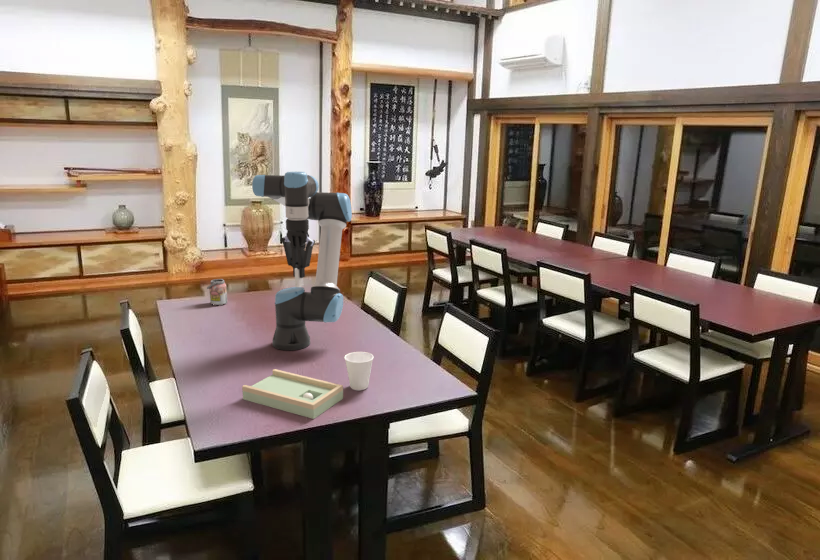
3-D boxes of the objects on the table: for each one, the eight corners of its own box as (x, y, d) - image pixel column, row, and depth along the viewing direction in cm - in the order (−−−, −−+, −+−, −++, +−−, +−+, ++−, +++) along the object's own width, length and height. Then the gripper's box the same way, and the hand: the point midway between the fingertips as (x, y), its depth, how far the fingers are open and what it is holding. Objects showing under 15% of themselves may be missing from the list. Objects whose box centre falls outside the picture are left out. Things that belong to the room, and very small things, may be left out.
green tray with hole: (243, 399, 187) (242, 386, 186) (275, 381, 201) (274, 369, 200) (313, 418, 175) (313, 405, 174) (343, 398, 189) (342, 385, 188)
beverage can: (205, 305, 287) (203, 282, 284) (213, 300, 295) (211, 278, 292) (222, 306, 286) (221, 283, 283) (230, 301, 294) (229, 279, 291)
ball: (304, 393, 183) (310, 402, 182) (311, 389, 186) (317, 398, 185) (298, 398, 185) (304, 407, 184) (305, 394, 187) (311, 402, 187)
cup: (345, 381, 202) (344, 351, 199) (373, 380, 203) (373, 351, 200) (344, 393, 193) (343, 362, 190) (374, 393, 193) (374, 362, 191)
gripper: (274, 218, 194) (277, 286, 200) (306, 221, 188) (308, 291, 194) (288, 215, 201) (291, 281, 206) (319, 218, 195) (321, 286, 201)
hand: (299, 286), depth 200 cm, fingers closed
